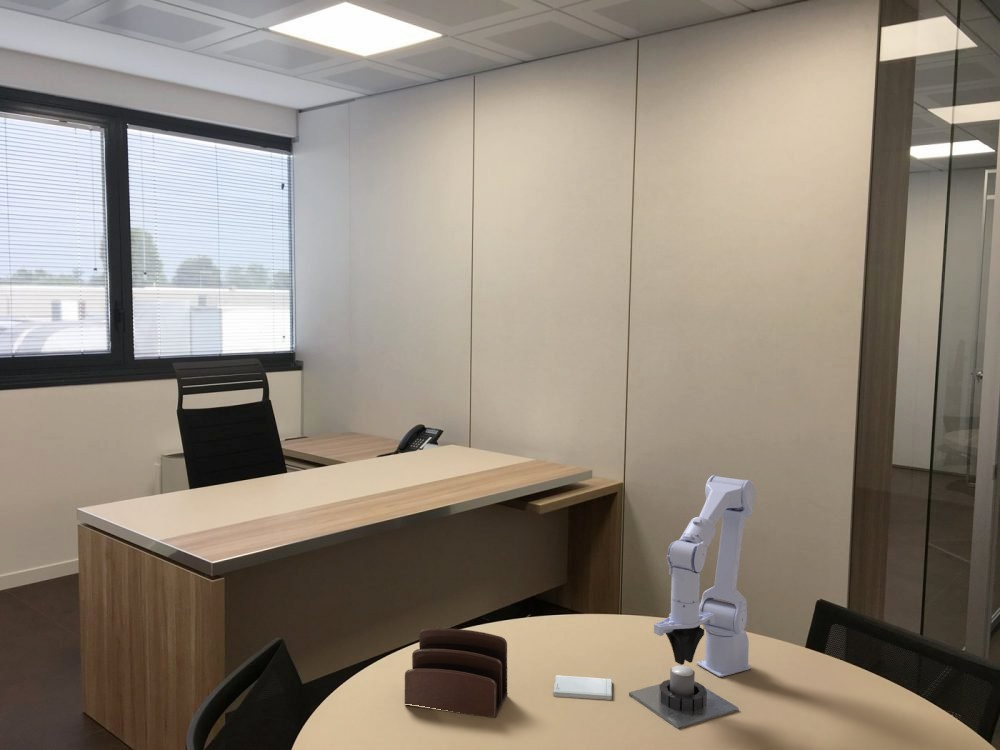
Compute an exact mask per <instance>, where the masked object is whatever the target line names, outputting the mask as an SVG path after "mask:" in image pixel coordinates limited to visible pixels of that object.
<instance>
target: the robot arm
mask: <svg viewBox="0 0 1000 750" xmlns="http://www.w3.org/2000/svg"><path fill="white" fill-rule="evenodd" d="M704 489H705V490H704V493H705V503H704V505H703V506H702V508H701V511H700V512H699V516H696V517H693V518H691V520H690V521H689V523H688V524H687V527H686V528H685V529H684V531H683V533H682V535H681V536H680V538H679V539H677V540H675V541H672V542H671V543H670V544H669V546H668V548H667V549H668V550H667V555H666V563H667V565H668V574H669V576H670V577H671V591H670V613H669V614H668V617H665V619H662V620H661V621H659V622H655V623H654V625H653V633H654V634H655V635H657V636H659V637H661V636H664V634H665V635H666V636H667V639H668V640H669V643H670V646H671V650H672V653H673V657H674V662H675V663H677V664H678V665H679V666H684V665H685V661H686V662H688V663H693V661H694V657H695V654H696V650H697V648H698V645H699V643H700V641H701V640H702V638H703V637H704V636H705V651H704V652H705V653H704V654H705V656H704V660H703V659H702V660H698V661H697V662H696V664H697V666H699V667H701V668H703V669H704V670H706V671H708V672H709V673H712V674H714V675H715V676H717V677H720V678H722V677H727V676H730V675H733V674H737V673H740V672H741V673H742V672H744V671H747V670H751V668H752V667H751V666H750V665H749V647H750V645H749V644H750V641H749V637H748V634H747V632H746V631H745V628H746V626H747V622H748V610H747V608H748V601H747V599H746V598H745V597H744V596H743V595H742V594H741V592H740V591H738V589H737V583H738V576H739V568H740V560H741V559H740V558H741V552H742V551H741V550H742V543H743V538H744V537H743V535H744V527H745V523H746V519H747V518H749V517H752V516H753V511H754V507H755V506H754V505H755V498H756V490H755V484H754V483H753V481H752V480H750V479H740V478H732V477H731V478H730V477H724V476H718V475H716V474H715V475H711V476H710V477H709V478H708V479H707V481H706V484H705V488H704ZM720 518H722V523H721V531H720V532H721V533H720V536H719V537H720V538H719V544H718V545H719V547H718V554H717V562H716V570H715V575H714V577H715V578H714V585H713V586H712V587H710V588H708V589H706V590H705V591H703V593H702V596H701V600H700V581H701V579H700V578H701V571H702V570H703V568H704V566H705V562H706V557H707V555H708V550H707V549H708V548H709V546H710V544H711V542H712V541H713V539H714V537H715V535H716V528H715V525H716V524H717V522H718V521H719V519H720ZM701 626H702V627H701Z"/></svg>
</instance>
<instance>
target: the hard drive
mask: <svg viewBox="0 0 1000 750" xmlns="http://www.w3.org/2000/svg"><path fill="white" fill-rule="evenodd" d="M612 681H613V680H612V678H604V677H603V678H599V677H589V676H588V677H587V676H574V675H573V676H571V675H570V676H569V675H558V674H557V675H555V678H554V684H553V692H552V696H553V697H561V698H562V697H563V698H576V699H577V698H579V699H590V700H591V699H593V700H609V701H612V695H613V694H612V692H613V691H612V689H613V688H612V687H613V685H612V683H613V682H612Z"/></svg>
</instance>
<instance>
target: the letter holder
mask: <svg viewBox="0 0 1000 750" xmlns="http://www.w3.org/2000/svg"><path fill="white" fill-rule="evenodd" d="M418 634H419V635H418V639H419V641H418V642H419V643H418V645H419V648H417V649H415V650H414V651H413V652H412V653H411V654H412V656H411V661H412V663H411V666H412V668H411V669H407V670H406V671H405V673H404V705H405V704H412V705H419V706H425V707H430V708H436V709H441V710H448V711H453V712H452V713H456V712H460V713H459V714H463V713H466V714H465V715H471V714H473V715H472V716H478V715H479V716H478V717H486V718H492V719H493V718H495V719H496V718H497V716H498V714H499V712H500V711H501V709H502V706H503V705H504V704H505V701H506V700H507V697H508V641H507V639H506V638H505V637H502V636H499V635H496V634H491V633H488V632H482V631H477V630H470V629H459V628H439V627H438V628H436V627H433V628H423V629H421V630H420V631H419V633H418ZM441 710H440V711H441ZM448 711H447V712H448Z"/></svg>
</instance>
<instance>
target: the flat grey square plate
mask: <svg viewBox="0 0 1000 750" xmlns="http://www.w3.org/2000/svg"><path fill="white" fill-rule="evenodd" d="M628 696H629V697H631V698H632V699H634V700H636V701H637V702H638V703H640V704H641V705H643V706H644V707H646V708H647V709H648V710H650V711H651V712H653V713H654V714H655V715H657V716H658V717H659V718H661V719H663V720H665V722H667V723H669V724H670V725H672V726H673V727H674V728H676V729H677V730H679V729H682V728H686V727H689V726H693V725H695V724H698V723H702V722H706V721H709V720H713V719H715V718H718V717H721V716H724V715H729V714H731V713H735V712H738V711H739V710H740V708H739V707H738V706H736V705H735V704H733V703H731V702H730V701H728V700H726V699H725V698H723V697H722V696H720V695H718V694H717V693H715V692H713V691H711V690H710V689H708V688H707V687H705V686H704V685H702V684H701V683H699V682H697V681H695V680H694V695H693V696H679V695H675V694H673V693H671V692H670V679H667V680H664V681H662V682H661V683H659V684H655V685H651V686H648V687H644V688H639V689H638V690H633V691H629V692H628Z"/></svg>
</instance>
